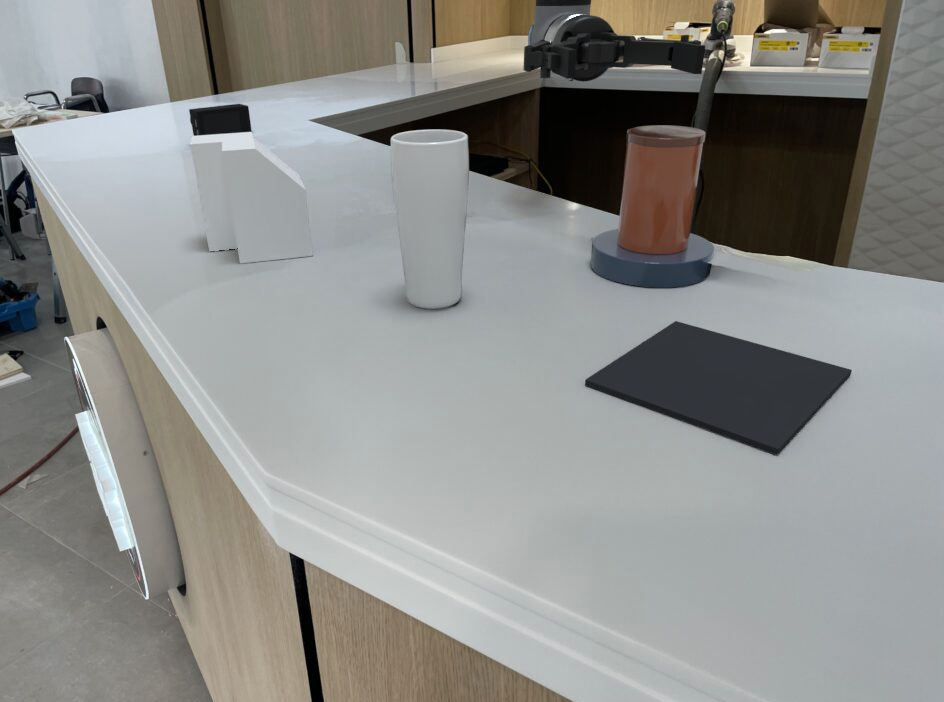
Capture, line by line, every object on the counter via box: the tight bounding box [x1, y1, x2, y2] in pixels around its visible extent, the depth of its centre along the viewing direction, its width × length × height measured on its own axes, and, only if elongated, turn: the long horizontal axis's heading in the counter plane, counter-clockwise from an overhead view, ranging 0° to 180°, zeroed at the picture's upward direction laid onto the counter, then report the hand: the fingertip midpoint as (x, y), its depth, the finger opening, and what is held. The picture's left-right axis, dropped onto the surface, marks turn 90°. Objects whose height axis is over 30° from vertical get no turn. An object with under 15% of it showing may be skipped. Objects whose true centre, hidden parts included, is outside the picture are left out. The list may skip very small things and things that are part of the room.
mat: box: [584, 320, 852, 456], centre depth 54 cm, size 14×14×1 cm
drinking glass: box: [390, 129, 470, 310], centre depth 66 cm, size 7×7×15 cm
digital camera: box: [188, 103, 253, 136], centre depth 142 cm, size 10×5×7 cm, turn 126°
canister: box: [617, 124, 707, 255], centre depth 72 cm, size 7×7×11 cm
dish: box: [590, 228, 715, 289], centre depth 75 cm, size 12×12×2 cm
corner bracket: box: [189, 131, 314, 264], centre depth 82 cm, size 11×11×12 cm
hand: (636, 62), depth 75 cm, fingers open, 13 cm apart
